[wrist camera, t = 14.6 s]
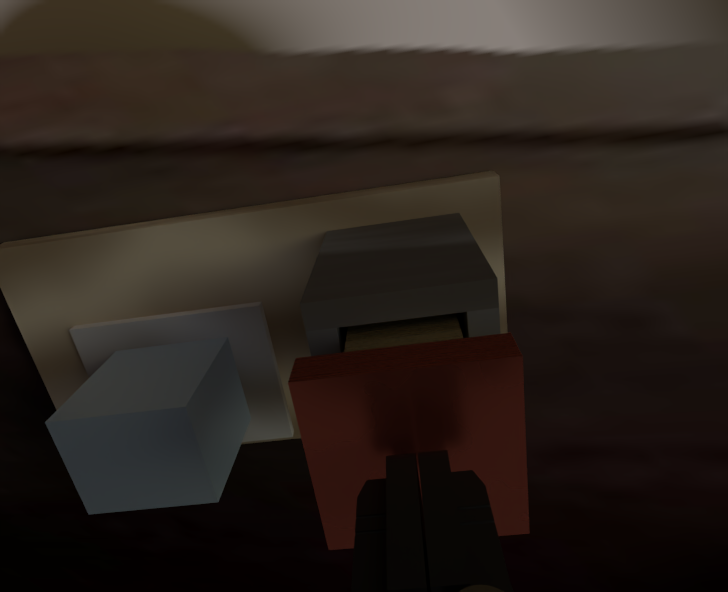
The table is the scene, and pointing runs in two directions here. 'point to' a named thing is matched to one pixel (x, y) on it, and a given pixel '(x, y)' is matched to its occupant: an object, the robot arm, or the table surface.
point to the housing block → (154, 427)
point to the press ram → (413, 414)
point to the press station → (261, 283)
